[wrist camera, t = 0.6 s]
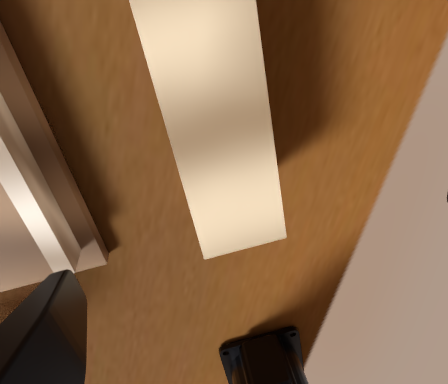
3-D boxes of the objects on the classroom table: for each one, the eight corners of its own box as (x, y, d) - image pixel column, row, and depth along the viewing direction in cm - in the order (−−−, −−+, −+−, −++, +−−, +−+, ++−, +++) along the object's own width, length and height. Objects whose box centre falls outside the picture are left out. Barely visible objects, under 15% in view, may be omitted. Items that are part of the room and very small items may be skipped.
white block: (255, 179, 22) (286, 237, 17) (192, 195, 22) (204, 259, 17) (216, -52, 16) (247, -68, 11) (128, -33, 16) (117, -39, 11)
